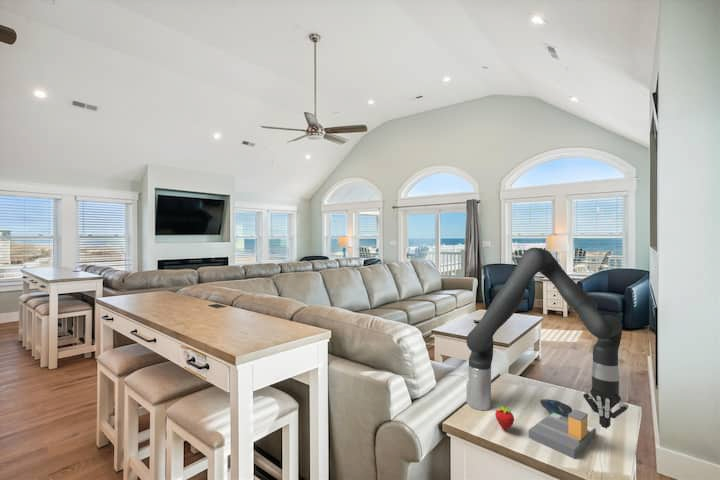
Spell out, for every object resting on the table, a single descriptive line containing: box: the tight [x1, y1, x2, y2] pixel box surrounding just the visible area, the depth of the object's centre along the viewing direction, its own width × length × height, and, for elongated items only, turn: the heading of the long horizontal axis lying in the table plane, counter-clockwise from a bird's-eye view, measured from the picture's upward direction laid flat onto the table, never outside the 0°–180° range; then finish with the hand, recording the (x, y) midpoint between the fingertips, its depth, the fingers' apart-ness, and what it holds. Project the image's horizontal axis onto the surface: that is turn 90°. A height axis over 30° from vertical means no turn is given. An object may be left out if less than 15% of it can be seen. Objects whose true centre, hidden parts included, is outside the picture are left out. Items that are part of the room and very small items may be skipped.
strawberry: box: [495, 404, 515, 432], centre depth 133 cm, size 6×8×10 cm
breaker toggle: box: [567, 408, 589, 440], centre depth 124 cm, size 4×6×7 cm
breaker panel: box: [528, 412, 597, 459], centre depth 128 cm, size 15×20×4 cm
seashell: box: [539, 398, 573, 418], centre depth 146 cm, size 6×9×10 cm
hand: (605, 426), depth 118 cm, fingers closed
